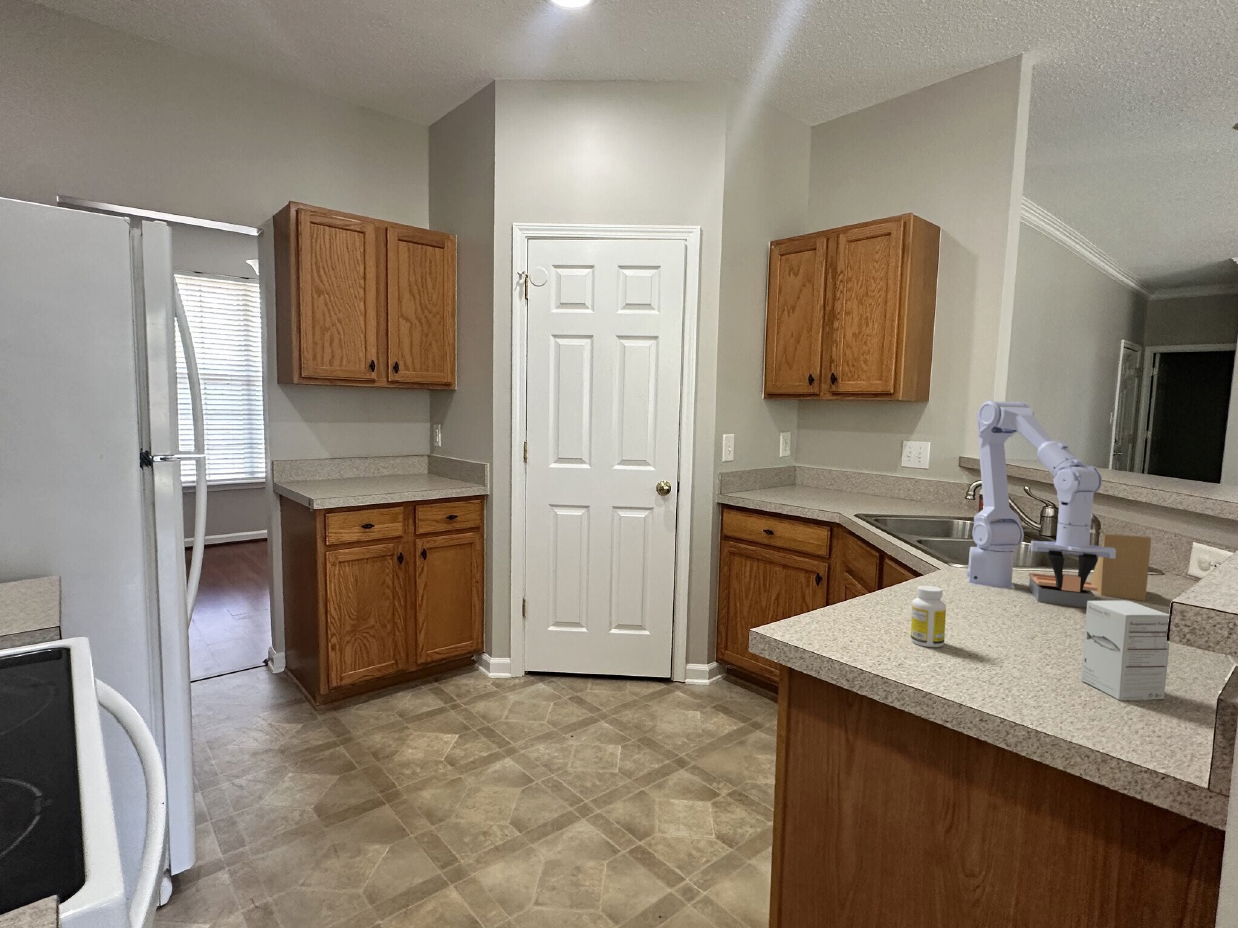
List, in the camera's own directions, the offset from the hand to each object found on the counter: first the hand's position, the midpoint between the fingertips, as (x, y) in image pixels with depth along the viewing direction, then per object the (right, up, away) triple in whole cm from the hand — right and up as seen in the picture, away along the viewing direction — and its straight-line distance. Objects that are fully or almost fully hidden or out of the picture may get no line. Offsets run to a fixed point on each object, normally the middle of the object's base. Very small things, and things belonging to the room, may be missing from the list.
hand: (1069, 588), depth 139 cm
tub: (+4, -4, +9) cm, 10 cm away
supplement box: (-20, -8, -41) cm, 46 cm away
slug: (+3, -4, +11) cm, 12 cm away
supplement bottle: (-40, -6, -22) cm, 46 cm away
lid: (+3, 0, +6) cm, 7 cm away
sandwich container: (+22, -5, +17) cm, 28 cm away
